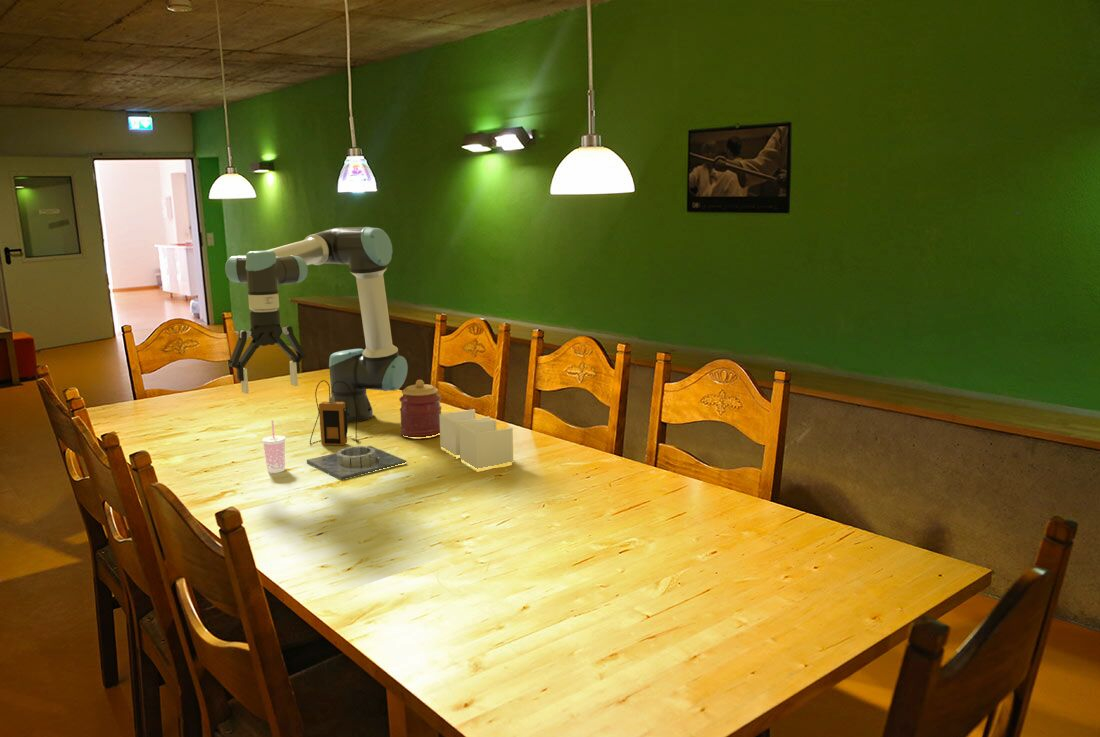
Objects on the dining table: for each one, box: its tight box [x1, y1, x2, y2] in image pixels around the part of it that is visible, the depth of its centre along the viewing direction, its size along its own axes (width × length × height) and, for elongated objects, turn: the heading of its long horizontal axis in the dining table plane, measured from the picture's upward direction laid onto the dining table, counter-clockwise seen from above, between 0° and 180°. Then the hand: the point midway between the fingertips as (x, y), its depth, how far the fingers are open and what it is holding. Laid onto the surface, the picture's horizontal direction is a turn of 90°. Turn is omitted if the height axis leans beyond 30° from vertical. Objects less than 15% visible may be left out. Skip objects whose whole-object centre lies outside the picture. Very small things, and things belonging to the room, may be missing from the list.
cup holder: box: [306, 445, 407, 481], centre depth 230 cm, size 20×20×4 cm
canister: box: [398, 379, 443, 437], centre depth 258 cm, size 13×13×18 cm
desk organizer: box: [439, 408, 514, 469], centre depth 234 cm, size 25×11×11 cm, turn 31°
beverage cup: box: [261, 420, 286, 474], centre depth 224 cm, size 6×6×14 cm
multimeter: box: [309, 380, 360, 447], centre depth 250 cm, size 15×10×20 cm
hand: (270, 389), depth 221 cm, fingers open, 13 cm apart
